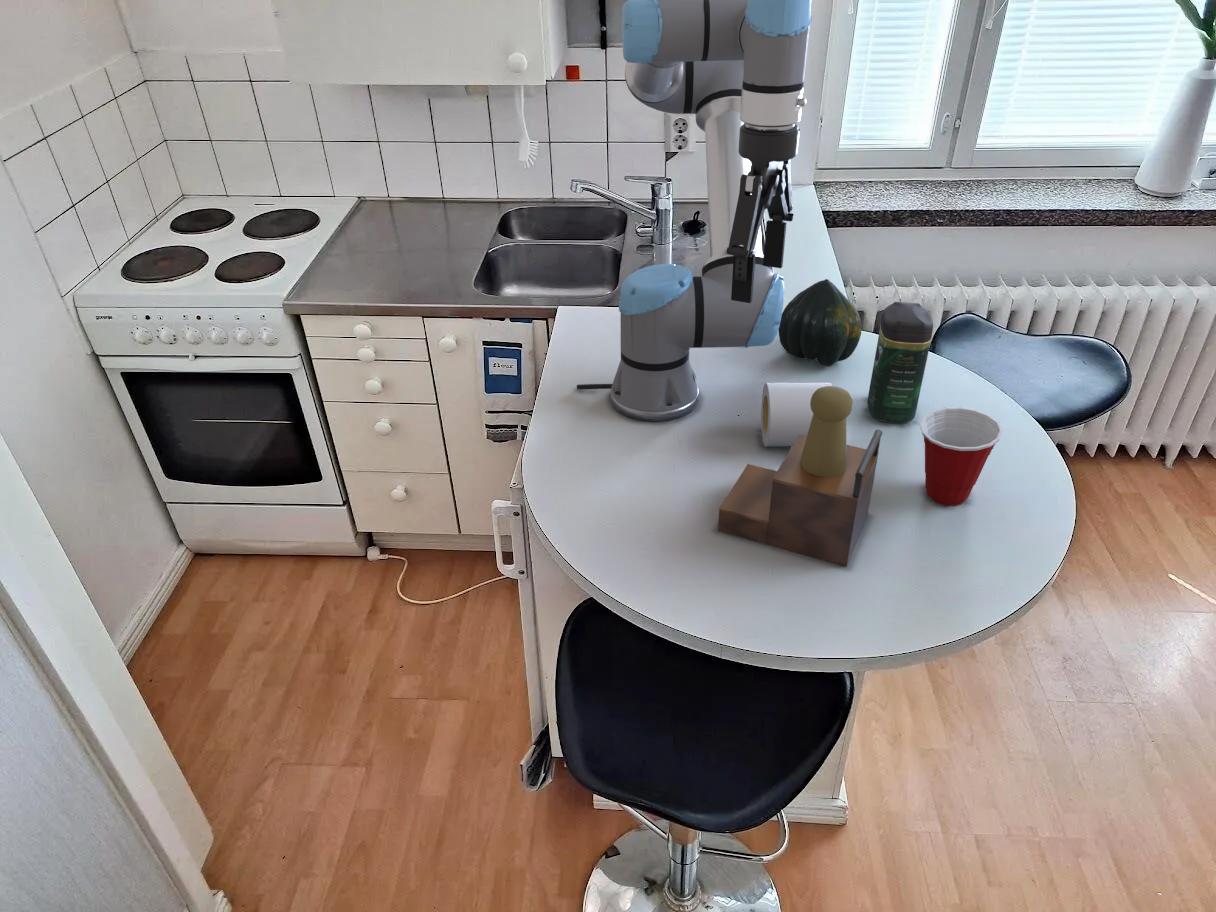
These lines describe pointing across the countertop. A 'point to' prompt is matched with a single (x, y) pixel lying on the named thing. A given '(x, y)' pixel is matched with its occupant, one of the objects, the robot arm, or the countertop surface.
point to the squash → (820, 325)
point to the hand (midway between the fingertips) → (757, 283)
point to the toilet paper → (786, 411)
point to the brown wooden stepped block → (803, 504)
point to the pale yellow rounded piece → (827, 432)
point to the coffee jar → (899, 362)
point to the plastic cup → (956, 451)
